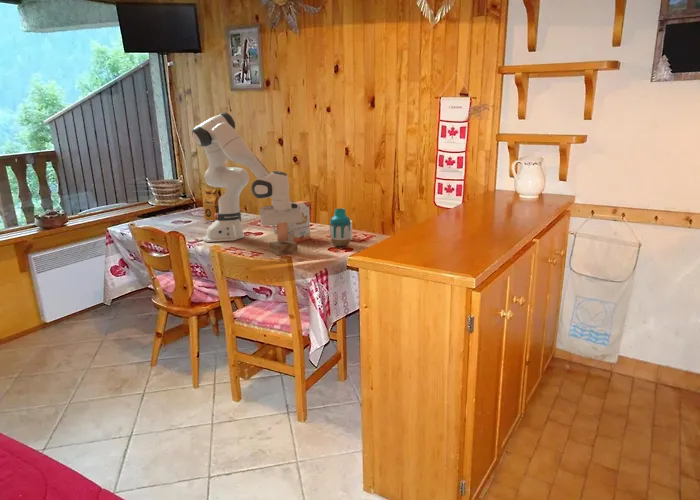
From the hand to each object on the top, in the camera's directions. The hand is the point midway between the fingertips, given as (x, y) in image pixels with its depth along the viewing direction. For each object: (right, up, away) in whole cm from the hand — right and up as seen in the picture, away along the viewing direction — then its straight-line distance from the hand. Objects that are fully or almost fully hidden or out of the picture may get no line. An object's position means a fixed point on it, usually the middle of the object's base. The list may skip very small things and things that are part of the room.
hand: (282, 233), depth 251 cm
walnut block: (0, -10, +2) cm, 10 cm away
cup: (+29, -3, +26) cm, 39 cm away
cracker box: (+5, -4, +26) cm, 27 cm away
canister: (0, -3, +1) cm, 4 cm away
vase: (+29, -6, +12) cm, 32 cm away
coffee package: (-55, +9, +82) cm, 99 cm away
